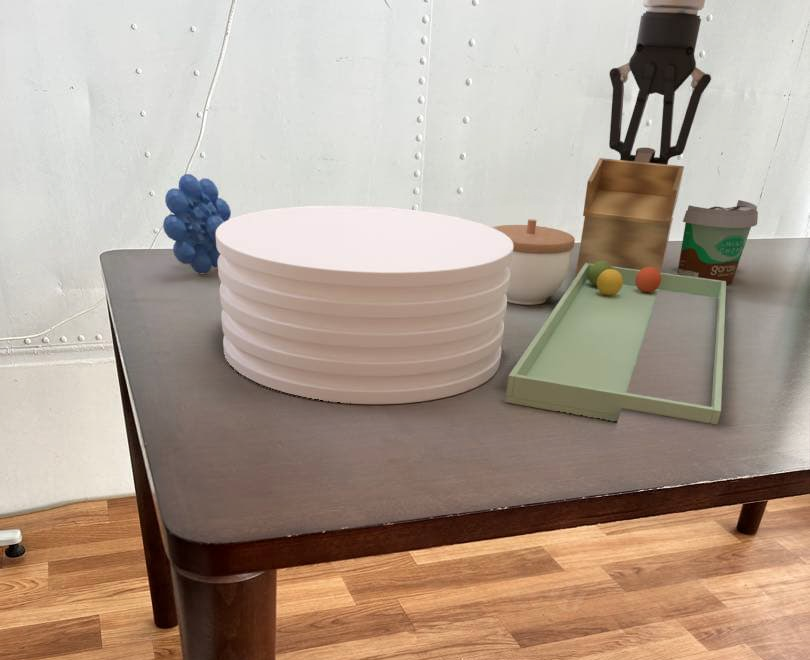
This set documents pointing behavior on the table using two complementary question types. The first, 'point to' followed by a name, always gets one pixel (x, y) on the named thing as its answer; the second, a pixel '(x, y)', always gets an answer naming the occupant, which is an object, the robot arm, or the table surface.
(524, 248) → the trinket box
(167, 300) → the table surface
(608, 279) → the ball mustard
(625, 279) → the tray
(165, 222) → the grapes
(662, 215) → the scoop
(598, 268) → the ball olive
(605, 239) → the riser
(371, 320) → the plate stack
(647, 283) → the ball terracotta
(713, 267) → the food container
